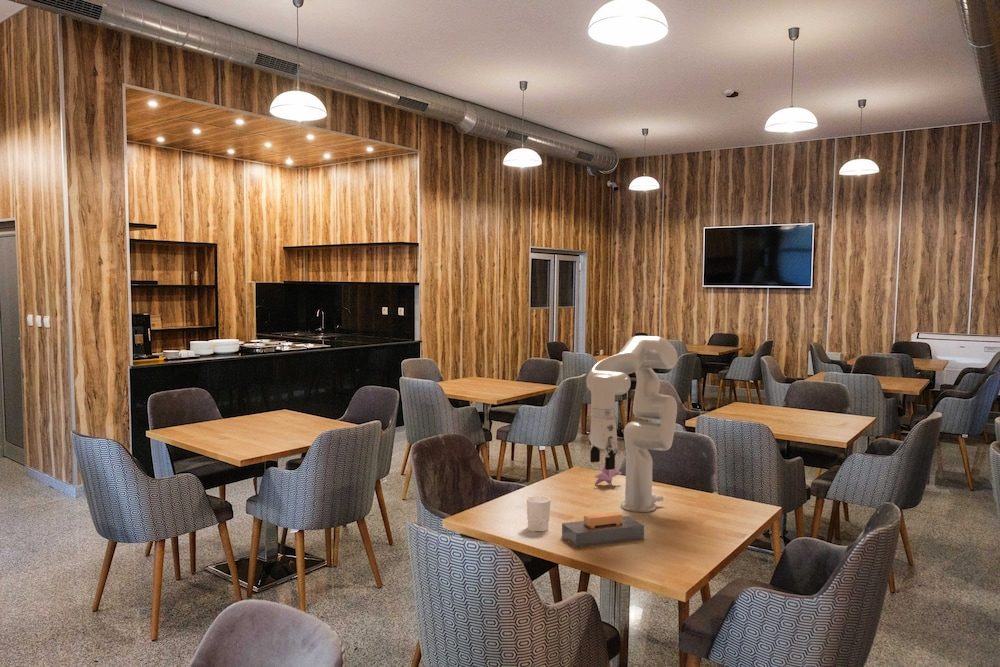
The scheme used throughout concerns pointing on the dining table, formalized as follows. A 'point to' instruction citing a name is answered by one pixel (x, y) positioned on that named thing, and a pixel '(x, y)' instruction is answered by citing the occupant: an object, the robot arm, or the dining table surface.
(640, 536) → the grey slotted block
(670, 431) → the robot arm
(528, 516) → the white cup
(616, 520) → the orange arch block
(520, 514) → the dining table surface
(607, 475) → the lily
